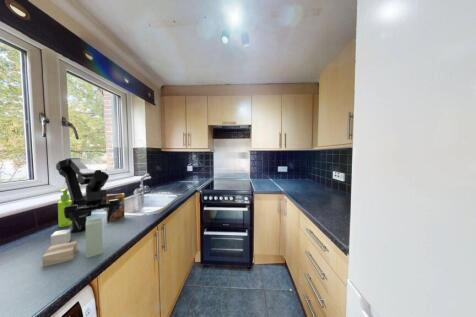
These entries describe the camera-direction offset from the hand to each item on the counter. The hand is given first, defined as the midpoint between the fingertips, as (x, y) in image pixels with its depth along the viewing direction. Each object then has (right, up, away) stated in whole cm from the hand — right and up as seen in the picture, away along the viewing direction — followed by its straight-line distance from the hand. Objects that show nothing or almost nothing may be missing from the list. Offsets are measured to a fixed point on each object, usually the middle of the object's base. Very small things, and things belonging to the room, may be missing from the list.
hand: (94, 225), depth 74 cm
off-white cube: (-19, -10, +5) cm, 22 cm away
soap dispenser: (-35, -9, +24) cm, 43 cm away
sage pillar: (+2, -10, -2) cm, 10 cm away
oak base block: (-8, -11, -5) cm, 15 cm away
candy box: (-14, -9, +33) cm, 37 cm away
